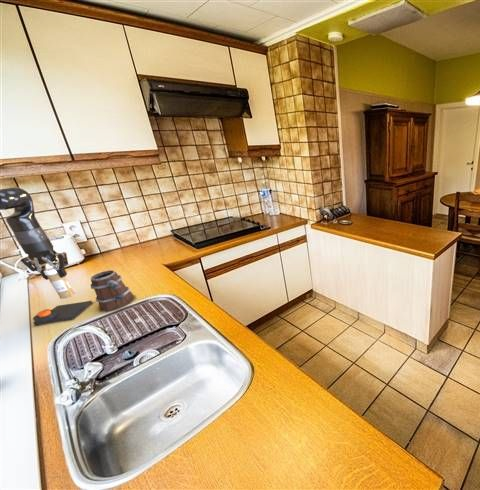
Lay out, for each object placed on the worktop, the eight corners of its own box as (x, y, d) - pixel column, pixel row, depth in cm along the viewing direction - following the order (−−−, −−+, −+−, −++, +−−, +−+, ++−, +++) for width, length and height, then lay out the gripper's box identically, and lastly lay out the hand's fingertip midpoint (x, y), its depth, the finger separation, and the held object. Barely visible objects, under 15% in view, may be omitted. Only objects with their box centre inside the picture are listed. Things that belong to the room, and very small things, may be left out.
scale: (32, 326, 107) (28, 320, 106) (57, 308, 118) (53, 302, 117) (71, 320, 110) (68, 314, 109) (92, 303, 121) (89, 297, 120)
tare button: (36, 318, 108) (33, 315, 107) (43, 313, 111) (41, 309, 110) (46, 317, 108) (44, 313, 108) (54, 311, 112) (52, 308, 111)
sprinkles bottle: (77, 292, 116) (62, 265, 111) (69, 298, 112) (53, 270, 107) (65, 294, 115) (49, 266, 110) (56, 300, 111) (39, 272, 106)
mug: (95, 307, 118) (78, 278, 112) (127, 293, 127) (113, 265, 121) (112, 316, 111) (95, 286, 105) (144, 300, 121) (131, 272, 115)
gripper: (63, 234, 108) (83, 270, 115) (20, 238, 105) (43, 275, 112) (47, 241, 101) (69, 279, 108) (1, 246, 99) (27, 285, 105)
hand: (56, 277), depth 110 cm, fingers closed on sprinkles bottle, 4 cm apart
